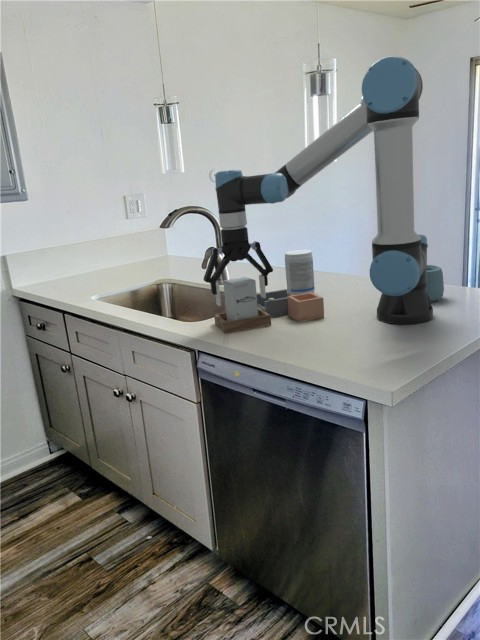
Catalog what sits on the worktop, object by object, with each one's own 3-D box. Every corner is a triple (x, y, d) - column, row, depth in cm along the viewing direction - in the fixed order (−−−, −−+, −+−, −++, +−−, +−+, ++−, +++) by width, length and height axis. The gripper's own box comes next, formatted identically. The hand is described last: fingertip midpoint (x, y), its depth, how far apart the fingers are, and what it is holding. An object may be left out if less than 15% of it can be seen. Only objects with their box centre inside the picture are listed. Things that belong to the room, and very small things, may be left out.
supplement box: (236, 327, 149) (232, 284, 146) (226, 321, 156) (222, 279, 152) (259, 322, 152) (256, 279, 149) (249, 316, 159) (245, 275, 155)
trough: (271, 325, 151) (270, 315, 150) (224, 333, 147) (223, 323, 146) (259, 316, 161) (258, 306, 160) (215, 323, 157) (214, 314, 157)
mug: (398, 293, 172) (398, 263, 169) (433, 290, 171) (433, 260, 168) (411, 305, 158) (411, 272, 155) (449, 302, 157) (449, 269, 154)
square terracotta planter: (324, 317, 154) (323, 297, 152) (299, 321, 152) (297, 301, 150) (312, 311, 161) (311, 292, 159) (288, 315, 159) (287, 296, 157)
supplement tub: (320, 292, 182) (318, 250, 178) (299, 298, 177) (296, 255, 173) (302, 288, 190) (300, 248, 186) (281, 294, 185) (278, 252, 181)
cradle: (300, 312, 161) (299, 294, 160) (267, 318, 158) (265, 300, 157) (286, 303, 172) (285, 287, 170) (255, 309, 169) (253, 292, 167)
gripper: (270, 221, 153) (276, 291, 159) (187, 232, 146) (196, 305, 152) (280, 222, 146) (286, 296, 152) (193, 234, 139) (202, 311, 145)
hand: (241, 301), depth 152 cm, fingers open, 13 cm apart
